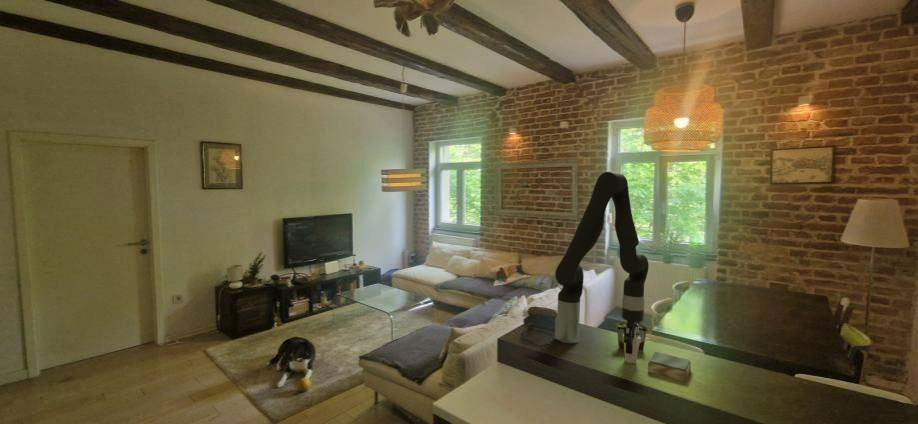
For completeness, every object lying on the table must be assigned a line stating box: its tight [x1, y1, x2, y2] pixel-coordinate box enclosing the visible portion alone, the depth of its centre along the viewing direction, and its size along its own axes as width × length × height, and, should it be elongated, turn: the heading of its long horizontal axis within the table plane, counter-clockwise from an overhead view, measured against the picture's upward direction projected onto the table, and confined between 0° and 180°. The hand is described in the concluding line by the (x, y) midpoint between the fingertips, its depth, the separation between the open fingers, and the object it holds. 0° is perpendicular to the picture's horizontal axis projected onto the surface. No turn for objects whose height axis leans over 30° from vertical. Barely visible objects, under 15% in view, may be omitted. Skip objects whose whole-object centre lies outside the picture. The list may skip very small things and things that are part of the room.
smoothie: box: [622, 334, 641, 364], centre depth 146 cm, size 6×6×14 cm
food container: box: [615, 321, 649, 352], centre depth 160 cm, size 12×6×10 cm, turn 84°
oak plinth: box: [647, 351, 692, 383], centre depth 139 cm, size 12×11×4 cm
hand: (631, 350), depth 147 cm, fingers closed on smoothie, 6 cm apart
